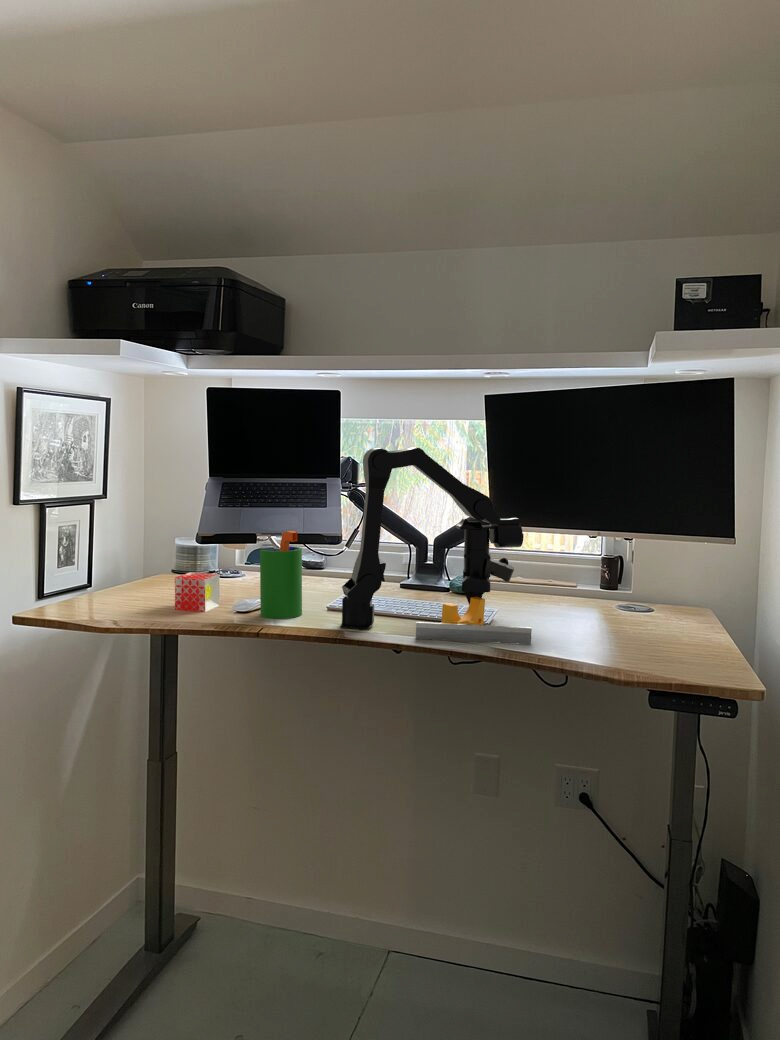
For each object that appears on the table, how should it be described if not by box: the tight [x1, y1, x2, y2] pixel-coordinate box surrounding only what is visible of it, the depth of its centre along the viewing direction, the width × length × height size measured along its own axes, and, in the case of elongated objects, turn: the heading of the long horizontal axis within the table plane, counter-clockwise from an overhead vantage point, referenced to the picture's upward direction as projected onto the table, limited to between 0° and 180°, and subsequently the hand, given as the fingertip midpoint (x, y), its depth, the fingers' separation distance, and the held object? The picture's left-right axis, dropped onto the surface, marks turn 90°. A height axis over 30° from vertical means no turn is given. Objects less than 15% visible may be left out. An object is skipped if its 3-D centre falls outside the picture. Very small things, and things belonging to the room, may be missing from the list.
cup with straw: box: [259, 530, 303, 620], centre depth 187 cm, size 10×9×20 cm
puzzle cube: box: [174, 571, 221, 613], centre depth 193 cm, size 8×8×8 cm
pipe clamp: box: [440, 597, 486, 625], centre depth 175 cm, size 12×4×6 cm, turn 137°
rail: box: [415, 621, 533, 645], centre depth 167 cm, size 24×2×4 cm, turn 83°
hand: (475, 615), depth 183 cm, fingers closed
